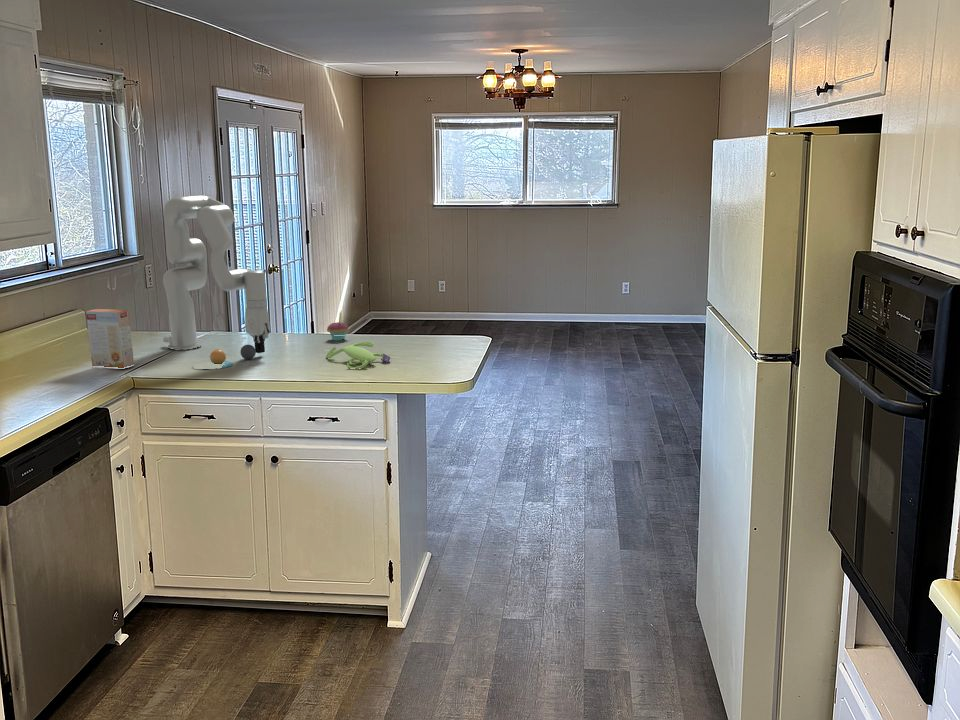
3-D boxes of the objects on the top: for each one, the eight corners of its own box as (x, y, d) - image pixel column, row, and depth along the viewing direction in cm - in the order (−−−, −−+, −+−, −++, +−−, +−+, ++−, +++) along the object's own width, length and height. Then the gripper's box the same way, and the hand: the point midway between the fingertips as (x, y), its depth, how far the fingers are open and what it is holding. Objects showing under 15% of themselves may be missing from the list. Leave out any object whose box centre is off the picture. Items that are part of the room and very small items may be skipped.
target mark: (184, 369, 312) (184, 368, 312) (205, 360, 325) (205, 360, 325) (220, 370, 309) (220, 370, 309) (239, 362, 322) (239, 361, 322)
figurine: (367, 352, 337) (366, 338, 336) (399, 365, 315) (399, 349, 314) (322, 358, 327) (321, 343, 326) (351, 372, 305) (351, 356, 304)
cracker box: (135, 366, 317) (129, 309, 312) (123, 370, 311) (117, 312, 307) (103, 364, 321) (97, 307, 317) (91, 368, 316) (85, 310, 311)
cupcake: (352, 338, 362) (351, 309, 360) (341, 342, 355) (339, 312, 352) (335, 336, 366) (333, 308, 363) (323, 340, 358) (321, 311, 356)
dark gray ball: (255, 345, 329) (252, 359, 330) (240, 342, 327) (237, 357, 327) (258, 346, 325) (255, 361, 325) (243, 344, 322) (240, 359, 322)
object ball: (228, 356, 322) (219, 368, 320) (215, 347, 321) (206, 360, 319) (229, 353, 317) (220, 366, 315) (216, 345, 316) (207, 357, 314)
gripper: (236, 303, 329) (240, 351, 333) (259, 307, 319) (263, 356, 323) (253, 300, 334) (257, 348, 338) (276, 304, 325) (280, 353, 329)
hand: (260, 352), depth 331 cm, fingers closed
